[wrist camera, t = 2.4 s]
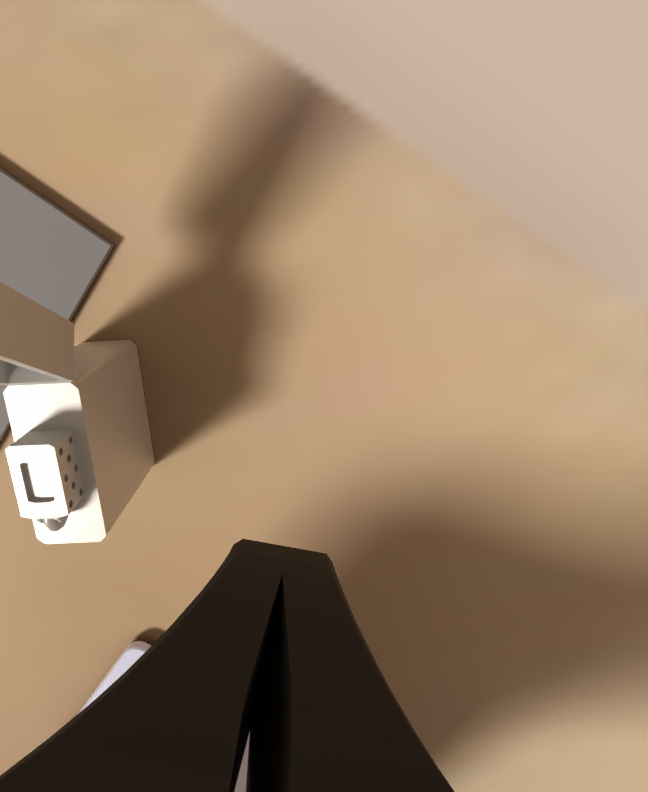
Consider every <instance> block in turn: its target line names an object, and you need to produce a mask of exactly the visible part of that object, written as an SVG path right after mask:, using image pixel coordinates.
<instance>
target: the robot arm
mask: <svg viewBox="0 0 648 792" xmlns="http://www.w3.org/2000/svg"><path fill="white" fill-rule="evenodd" d="M0 792H454V790H453V789H452V787H451V786H450V785H449V783H448V782H447V780H446V779H445V777H444V776H443V774H442V773H441V771H440V770H439V769H438V767H437V765H436V764H435V762H434V761H433V759H432V758H431V756H430V755H429V753H428V752H427V750H426V748H425V747H424V745H423V744H422V742H421V740H420V739H419V737H418V736H417V734H416V732H415V731H414V729H413V728H412V726H411V724H410V722H409V721H408V719H407V717H406V716H405V714H404V712H403V710H402V709H401V707H400V705H399V704H398V702H397V700H396V698H395V697H394V695H393V693H392V692H391V690H390V688H389V686H388V684H387V682H386V681H385V679H384V677H383V675H382V673H381V671H380V669H379V667H378V665H377V663H376V661H375V659H374V657H373V655H372V654H371V652H370V650H369V648H368V646H367V644H366V642H365V640H364V638H363V636H362V634H361V632H360V629H359V627H358V625H357V623H356V621H355V619H354V616H353V614H352V612H351V609H350V607H349V605H348V603H347V600H346V598H345V595H344V593H343V591H342V588H341V586H340V583H339V580H338V578H337V575H336V572H335V569H334V566H333V563H332V561H331V560H330V558H329V557H328V555H327V554H324V553H319V552H313V551H308V550H302V549H297V548H291V547H285V546H280V545H274V544H269V543H263V542H258V541H252V540H246V539H242V540H240V541H239V542H237V543H235V544H234V545H233V547H232V549H231V551H230V553H229V554H228V556H227V557H226V559H225V561H224V562H223V563H222V565H221V566H220V568H219V569H218V570H217V572H216V573H215V575H214V576H213V577H212V578H211V580H210V581H209V582H208V583H207V585H206V586H205V587H204V589H203V590H202V591H201V592H200V593H199V595H198V596H197V597H196V598H195V599H194V600H193V601H192V603H191V604H190V605H189V606H188V607H187V608H186V609H185V611H184V612H183V613H182V614H181V615H180V616H179V617H178V619H177V620H176V621H175V622H174V623H173V624H172V625H171V626H170V627H169V629H168V630H167V631H166V632H165V633H164V634H163V635H162V636H161V637H160V638H159V639H158V640H157V641H156V642H155V643H154V644H153V645H150V644H148V643H146V642H143V641H135V642H132V643H130V644H129V645H128V646H127V647H126V649H125V650H124V651H123V653H122V654H121V655H120V657H119V658H118V660H117V661H116V662H115V664H114V665H113V666H112V668H111V669H110V670H109V672H108V673H107V674H106V676H105V677H104V678H103V680H102V681H101V683H100V684H99V685H98V687H97V688H96V689H95V691H94V692H93V693H92V695H91V696H90V697H89V699H88V700H87V701H86V703H85V704H84V706H83V707H82V708H81V710H80V711H79V712H78V714H77V715H76V716H75V717H74V718H73V719H72V720H70V721H69V722H68V723H67V724H66V725H64V726H63V727H62V728H61V729H60V730H58V731H57V732H56V733H55V734H54V735H52V736H51V737H50V738H49V739H47V740H46V741H45V742H44V743H42V744H41V745H40V746H38V747H37V748H36V749H35V750H33V751H32V752H31V753H29V754H28V755H27V756H25V757H24V758H23V759H22V760H20V761H19V762H18V763H16V764H15V765H14V766H12V767H11V768H10V769H9V770H7V771H6V772H5V773H3V774H2V775H1V776H0Z"/></svg>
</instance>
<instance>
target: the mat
mask: <svg viewBox="0 0 648 792" xmlns="http://www.w3.org/2000/svg"><path fill="white" fill-rule="evenodd" d="M113 247H114V245H113V244H112V243H110V242H109V241H107V240H106V239H104V238H103V237H101V236H100V235H98V234H97V233H95V232H94V231H92V230H91V229H90V228H88V227H87V226H85V225H84V224H82V223H81V222H79V221H78V220H76V219H75V218H73V217H72V216H70V215H69V214H67V213H66V212H64V211H63V210H62V209H60V208H59V207H57V206H56V205H54V204H53V203H51V202H50V201H48V200H47V199H45V198H44V197H42V196H41V195H39V194H38V193H36V192H35V191H34V190H32V189H31V188H29V187H28V186H26V185H25V184H23V183H22V182H20V181H19V180H17V179H16V178H14V177H13V176H11V175H10V174H8V173H7V172H6V171H4V170H3V169H1V168H0V282H2V283H3V284H5V285H7V286H9V287H10V288H12V289H14V290H16V291H18V292H19V293H21V294H23V295H25V296H26V297H28V298H30V299H32V300H33V301H35V302H37V303H39V304H41V305H42V306H44V307H46V308H48V309H49V310H51V311H53V312H55V313H56V314H58V315H60V316H62V317H64V318H65V319H67V320H69V321H71V319H72V317H73V316H74V314H75V312H76V311H77V309H78V307H79V305H80V304H81V302H82V300H83V298H84V297H85V295H86V293H87V292H88V290H89V288H90V286H91V285H92V283H93V281H94V279H95V278H96V276H97V274H98V273H99V271H100V269H101V267H102V266H103V264H104V262H105V260H106V259H107V257H108V255H109V254H110V252H111V250H112V248H113ZM7 387H8V386H5V385H0V442H1V440H2V438H3V437H4V435H5V433H6V431H7V430H8V428H9V426H10V421H9V416H8V412H7V408H6V403H5V399H4V395H3V392H4V390H5V389H6V388H7Z"/></svg>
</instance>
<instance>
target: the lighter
mask: <svg viewBox="0 0 648 792" xmlns="http://www.w3.org/2000/svg"><path fill="white" fill-rule="evenodd" d="M0 385H5V386H8V387H7V388H6V389H5V390H4V392H3V395H4V399H5V403H6V408H7V412H8V416H9V421H10V425H11V429H12V434H13V438H14V443H13V444H12V445H10V446H9V447H8V448H7V449H5V451H6V456H7V460H8V464H9V468H10V472H11V477H12V481H13V485H14V489H15V493H16V498H17V502H18V506H19V510H20V514H21V517H24V518H30V519H32V520H33V524H34V528H35V533H36V537H37V539H39V540H40V541H41V542H43V543H44V544H59V543H83V542H101V541H102V539H103V538H104V537H105V536H106V535H107V533H108V532H109V530H110V529H111V527H112V526H113V524H114V523H115V521H116V520H117V518H118V517H119V515H120V514H121V512H122V511H123V509H124V508H125V506H126V505H127V503H128V502H129V500H130V499H131V497H132V496H133V495H134V493H135V492H136V490H137V489H138V487H139V486H140V484H141V483H142V481H143V480H144V478H145V477H146V475H147V474H148V472H149V471H150V469H151V468H152V466H153V465H154V463H155V460H154V454H153V448H152V441H151V435H150V428H149V422H148V415H147V409H146V402H145V396H144V389H143V383H142V377H141V370H140V364H139V357H138V351H137V345H136V344H135V343H133V342H132V341H131V340H113V341H94V342H82V343H81V344H79V345H77V346H75V347H74V323H72V322H71V321H69V320H67V319H65V318H64V317H62V316H60V315H58V314H56V313H55V312H53V311H51V310H49V309H48V308H46V307H44V306H42V305H41V304H39V303H37V302H35V301H33V300H32V299H30V298H28V297H26V296H25V295H23V294H21V293H19V292H18V291H16V290H14V289H12V288H10V287H9V286H7V285H5V284H3V283H2V282H0Z"/></svg>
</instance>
